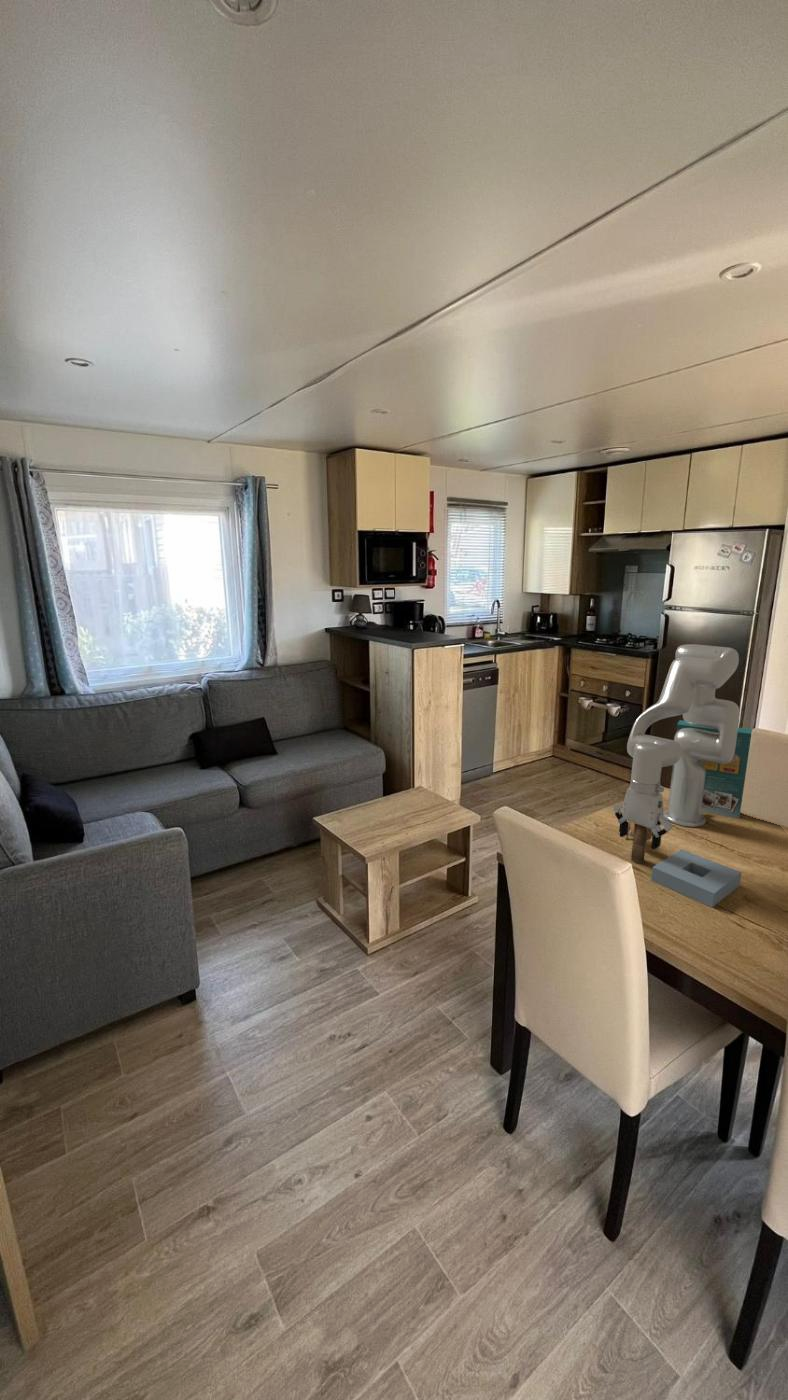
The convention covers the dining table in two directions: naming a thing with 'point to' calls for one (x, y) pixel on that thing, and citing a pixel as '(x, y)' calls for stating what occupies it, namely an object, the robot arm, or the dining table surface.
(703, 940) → the dining table surface
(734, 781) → the cake mix box
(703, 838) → the dining table surface
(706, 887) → the socket block
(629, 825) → the lion figurine
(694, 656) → the robot arm
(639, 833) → the peg
